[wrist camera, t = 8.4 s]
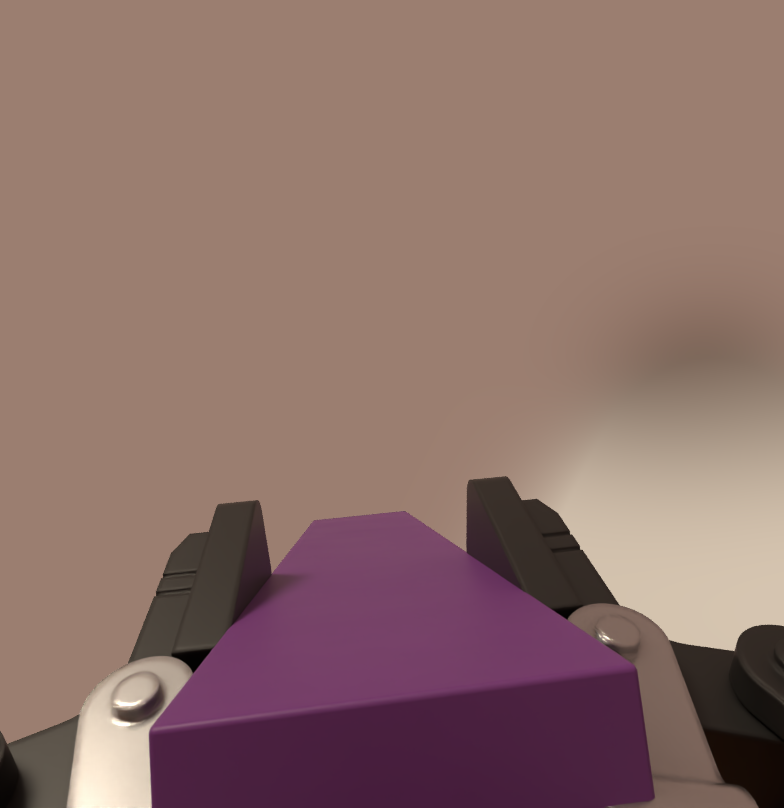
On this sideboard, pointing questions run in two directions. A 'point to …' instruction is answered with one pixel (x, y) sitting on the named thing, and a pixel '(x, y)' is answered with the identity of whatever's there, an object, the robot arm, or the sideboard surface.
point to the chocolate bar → (400, 690)
